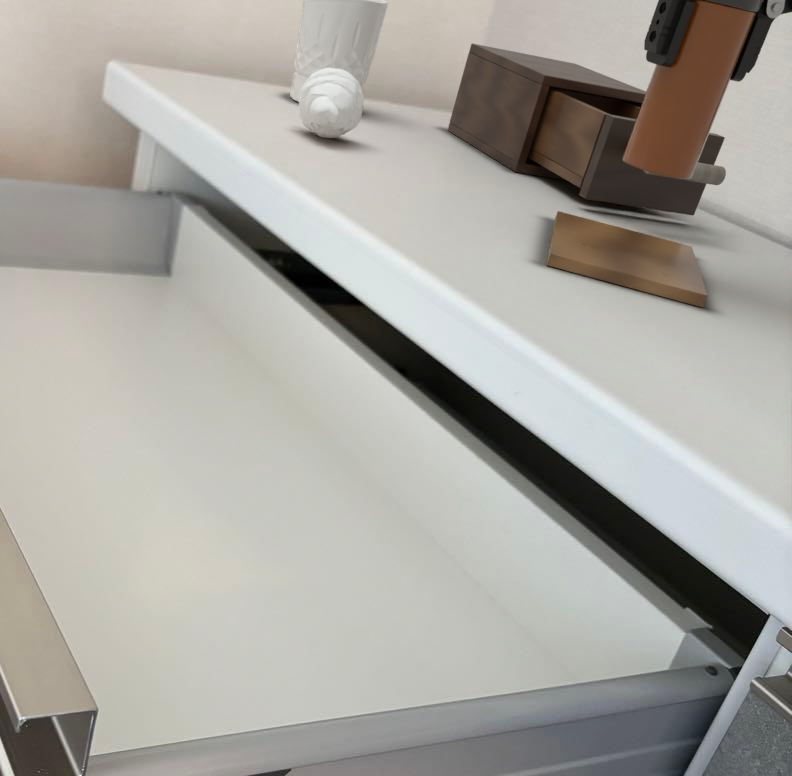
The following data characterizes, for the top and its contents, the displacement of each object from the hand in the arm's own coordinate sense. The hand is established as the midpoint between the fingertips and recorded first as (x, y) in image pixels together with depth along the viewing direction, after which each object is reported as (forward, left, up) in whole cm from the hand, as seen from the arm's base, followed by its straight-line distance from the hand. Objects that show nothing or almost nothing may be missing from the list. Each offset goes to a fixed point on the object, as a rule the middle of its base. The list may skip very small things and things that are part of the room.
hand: (694, 70), depth 69 cm
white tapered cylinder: (+29, -33, -13) cm, 46 cm away
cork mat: (0, 0, -12) cm, 12 cm away
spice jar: (0, 0, -6) cm, 6 cm away
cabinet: (+8, -33, -12) cm, 36 cm away
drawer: (+1, -21, -12) cm, 24 cm away
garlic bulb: (+25, -15, -13) cm, 32 cm away
